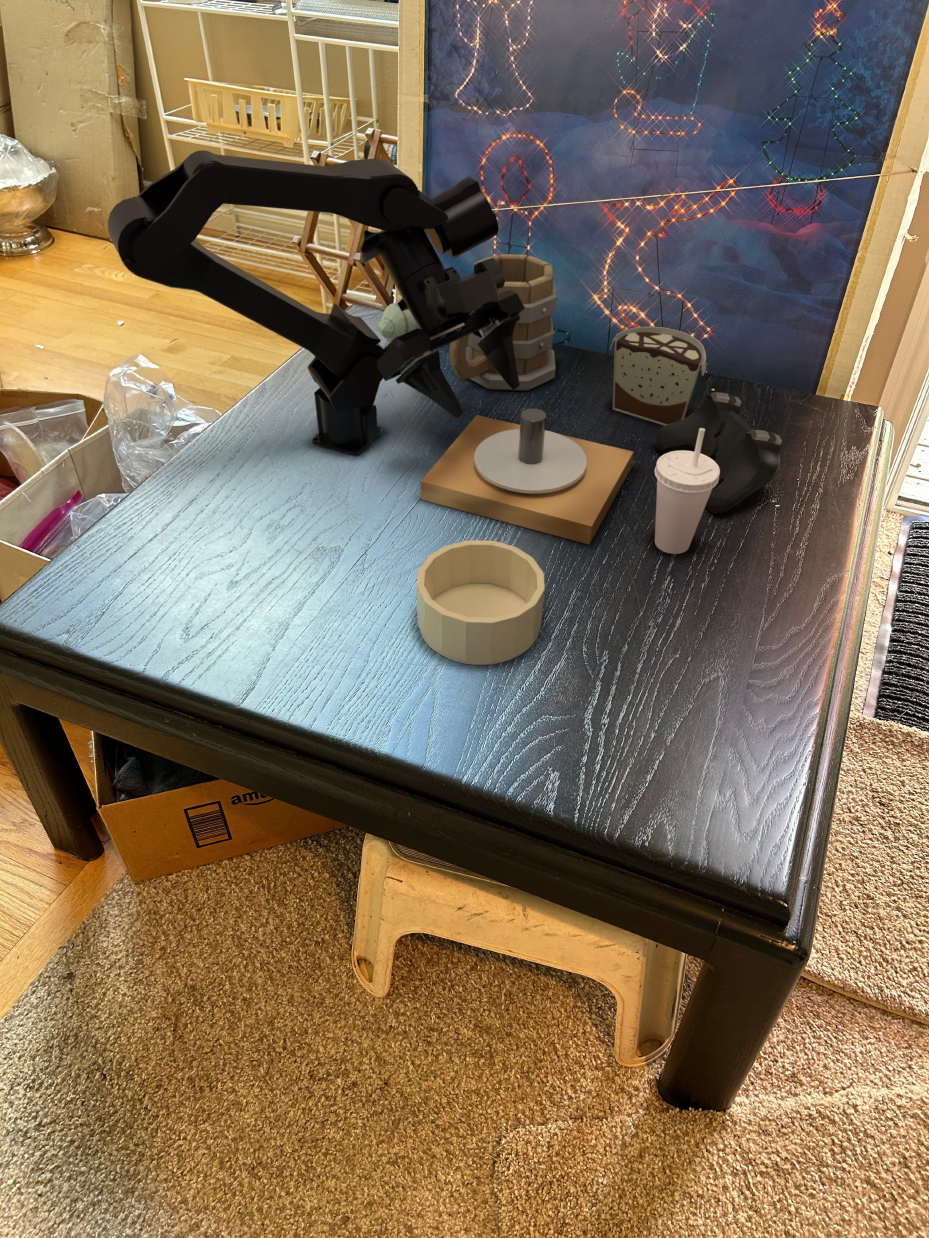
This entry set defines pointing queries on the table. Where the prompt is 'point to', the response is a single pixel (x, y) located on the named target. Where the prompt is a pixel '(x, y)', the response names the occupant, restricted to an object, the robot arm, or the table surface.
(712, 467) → the smoothie
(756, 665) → the table surface
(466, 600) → the tin
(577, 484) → the board
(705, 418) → the game controller
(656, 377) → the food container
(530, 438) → the lid
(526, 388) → the tankard
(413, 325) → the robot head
